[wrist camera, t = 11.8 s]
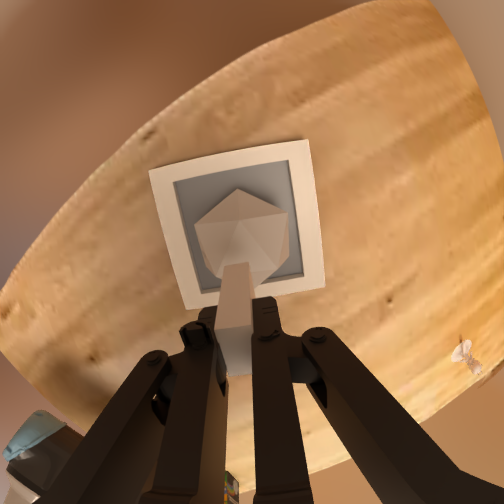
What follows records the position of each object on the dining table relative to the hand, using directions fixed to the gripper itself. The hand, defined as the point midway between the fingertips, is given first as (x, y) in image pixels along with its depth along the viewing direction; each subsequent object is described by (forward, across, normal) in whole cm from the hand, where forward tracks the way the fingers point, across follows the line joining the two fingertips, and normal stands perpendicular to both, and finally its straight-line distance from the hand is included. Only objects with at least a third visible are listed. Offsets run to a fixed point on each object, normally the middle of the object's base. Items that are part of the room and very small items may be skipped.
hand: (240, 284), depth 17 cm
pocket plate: (+14, 0, 0) cm, 14 cm away
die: (+13, 0, 0) cm, 13 cm away
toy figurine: (+14, +35, -29) cm, 47 cm away
